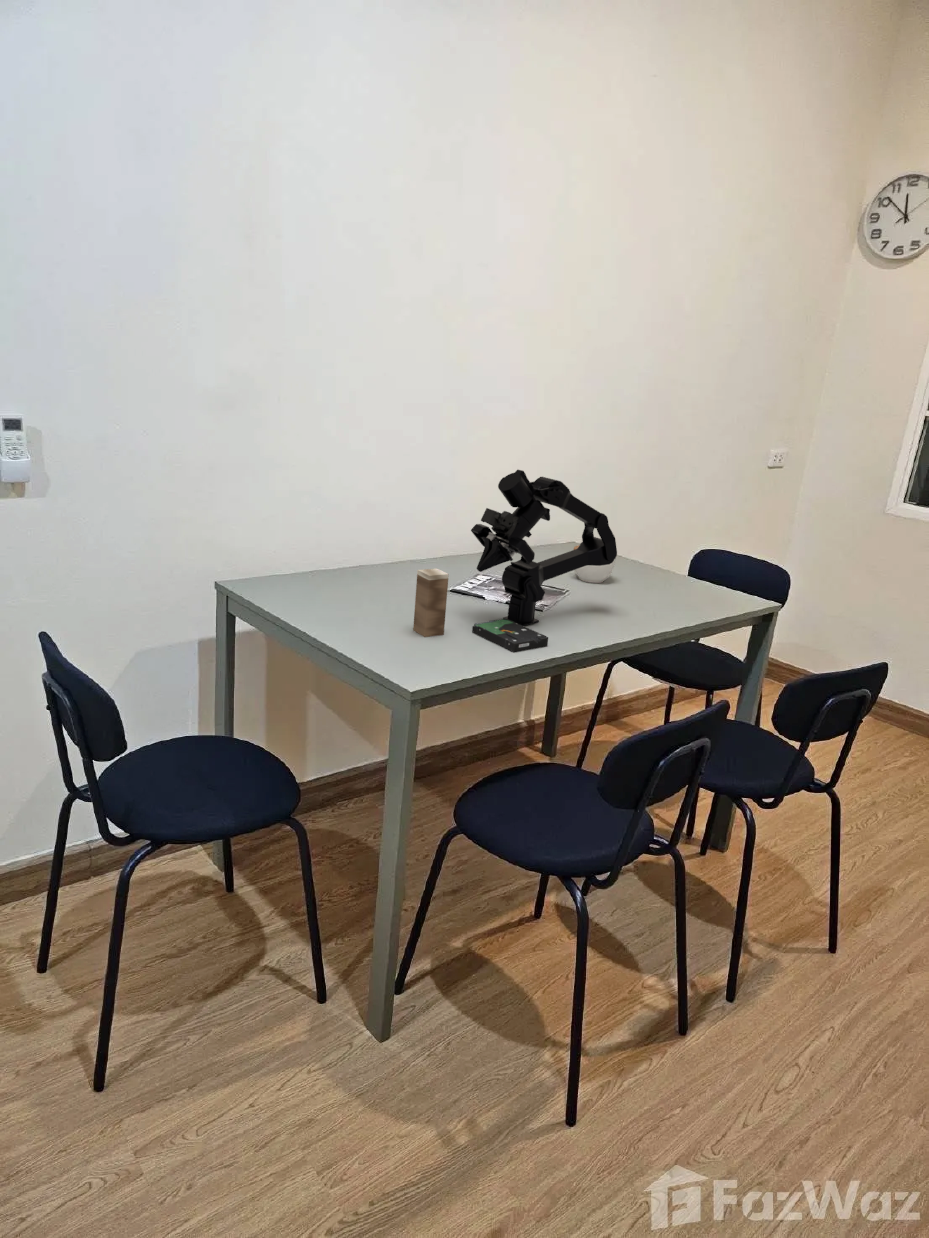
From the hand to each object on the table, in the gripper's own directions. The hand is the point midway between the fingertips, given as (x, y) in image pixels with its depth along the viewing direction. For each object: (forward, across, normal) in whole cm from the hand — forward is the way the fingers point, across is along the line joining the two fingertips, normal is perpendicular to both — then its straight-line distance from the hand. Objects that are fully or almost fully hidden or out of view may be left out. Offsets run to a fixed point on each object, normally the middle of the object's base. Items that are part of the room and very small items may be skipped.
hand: (478, 570), depth 194 cm
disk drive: (+8, +10, +12) cm, 18 cm away
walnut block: (+18, 0, +1) cm, 18 cm away
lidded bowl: (-32, -26, +52) cm, 67 cm away
